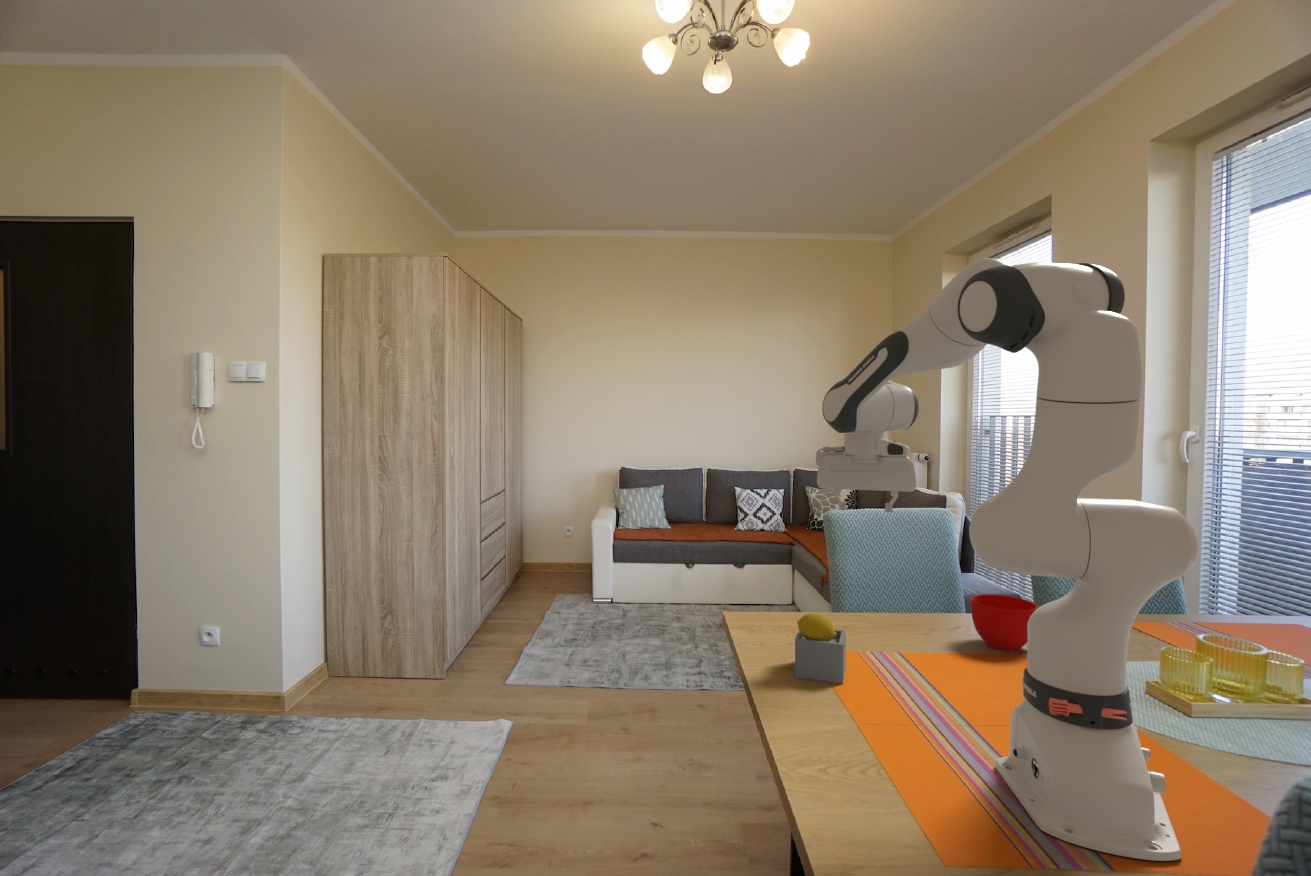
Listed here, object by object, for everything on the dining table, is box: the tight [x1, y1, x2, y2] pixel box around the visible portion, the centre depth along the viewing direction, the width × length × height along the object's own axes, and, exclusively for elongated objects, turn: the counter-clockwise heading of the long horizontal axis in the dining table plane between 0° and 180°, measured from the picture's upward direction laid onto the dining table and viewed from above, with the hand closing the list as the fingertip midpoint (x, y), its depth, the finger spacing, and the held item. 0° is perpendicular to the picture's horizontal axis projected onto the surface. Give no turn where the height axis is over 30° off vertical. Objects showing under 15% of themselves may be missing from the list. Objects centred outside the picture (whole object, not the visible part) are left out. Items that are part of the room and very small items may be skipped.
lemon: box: [796, 613, 836, 642], centre depth 119 cm, size 6×6×8 cm
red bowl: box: [970, 594, 1038, 652], centre depth 134 cm, size 13×17×10 cm
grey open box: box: [794, 628, 847, 685], centre depth 120 cm, size 9×9×8 cm
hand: (865, 511), depth 129 cm, fingers open, 8 cm apart
